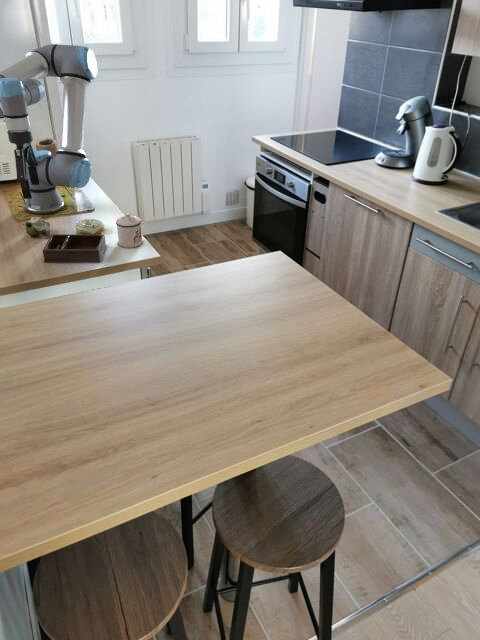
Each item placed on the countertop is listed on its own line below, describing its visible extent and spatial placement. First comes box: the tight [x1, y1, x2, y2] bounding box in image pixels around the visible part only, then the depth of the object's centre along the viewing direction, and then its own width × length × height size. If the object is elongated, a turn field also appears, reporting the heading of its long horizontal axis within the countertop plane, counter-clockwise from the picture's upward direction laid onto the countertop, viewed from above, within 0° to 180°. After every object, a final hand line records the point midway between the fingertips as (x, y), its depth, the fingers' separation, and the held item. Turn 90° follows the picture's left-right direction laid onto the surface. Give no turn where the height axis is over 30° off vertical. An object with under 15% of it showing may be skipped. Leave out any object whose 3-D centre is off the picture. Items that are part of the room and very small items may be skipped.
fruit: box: [22, 216, 51, 238], centre depth 196 cm, size 9×9×8 cm
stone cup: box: [35, 137, 60, 156], centre depth 257 cm, size 15×12×15 cm
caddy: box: [42, 233, 107, 263], centre depth 184 cm, size 13×19×5 cm
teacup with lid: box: [115, 212, 143, 248], centre depth 192 cm, size 12×9×12 cm
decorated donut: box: [74, 218, 105, 235], centre depth 200 cm, size 10×11×4 cm
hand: (31, 191), depth 183 cm, fingers open, 13 cm apart
